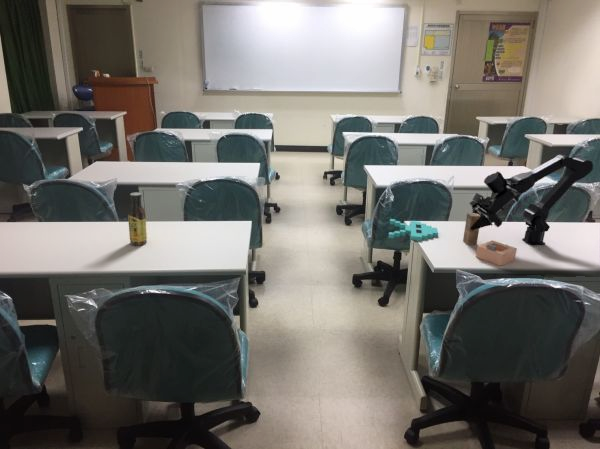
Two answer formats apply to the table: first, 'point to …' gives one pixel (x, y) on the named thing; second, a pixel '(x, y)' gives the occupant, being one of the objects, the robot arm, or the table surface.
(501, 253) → the box
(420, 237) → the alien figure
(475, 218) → the walnut stick
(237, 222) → the table surface
